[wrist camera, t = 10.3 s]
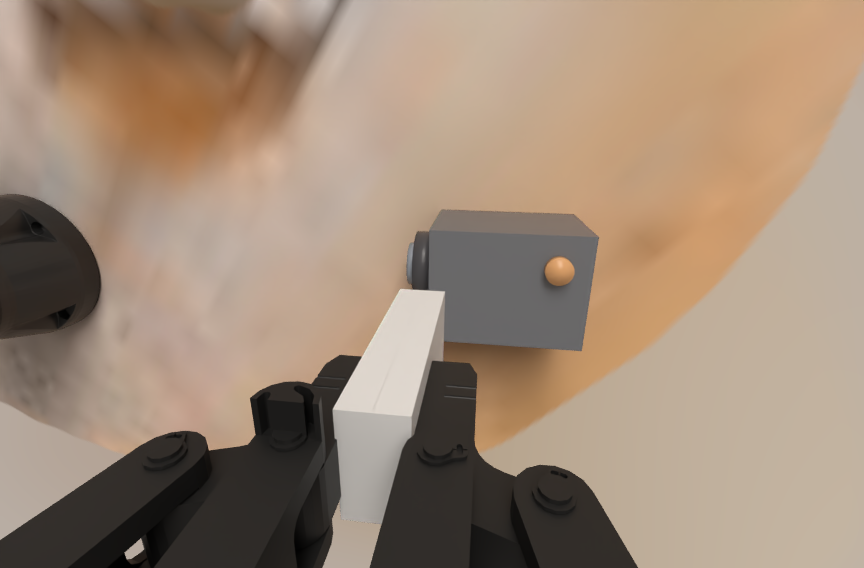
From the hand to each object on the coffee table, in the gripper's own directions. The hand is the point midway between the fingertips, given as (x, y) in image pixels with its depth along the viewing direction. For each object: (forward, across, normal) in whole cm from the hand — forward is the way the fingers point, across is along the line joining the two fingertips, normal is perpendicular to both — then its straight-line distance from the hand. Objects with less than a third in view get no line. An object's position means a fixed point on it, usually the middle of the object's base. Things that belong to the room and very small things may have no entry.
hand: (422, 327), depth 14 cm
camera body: (+26, +3, -5) cm, 27 cm away
